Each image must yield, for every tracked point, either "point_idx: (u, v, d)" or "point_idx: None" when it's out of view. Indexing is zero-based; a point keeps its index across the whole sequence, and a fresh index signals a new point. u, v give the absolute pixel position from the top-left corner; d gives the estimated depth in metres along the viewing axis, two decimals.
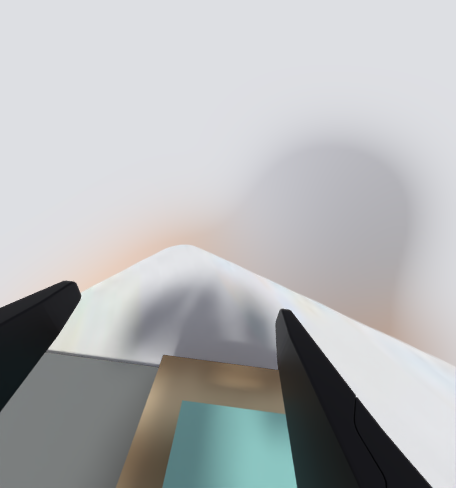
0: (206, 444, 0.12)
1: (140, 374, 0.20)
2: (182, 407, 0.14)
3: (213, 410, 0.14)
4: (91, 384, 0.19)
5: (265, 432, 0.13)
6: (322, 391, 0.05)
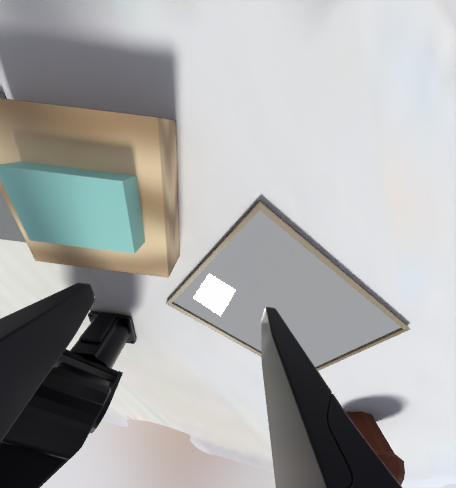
0: (36, 198, 0.14)
1: None
2: None
3: (29, 174, 0.13)
4: None
5: (84, 192, 0.14)
6: (298, 388, 0.05)
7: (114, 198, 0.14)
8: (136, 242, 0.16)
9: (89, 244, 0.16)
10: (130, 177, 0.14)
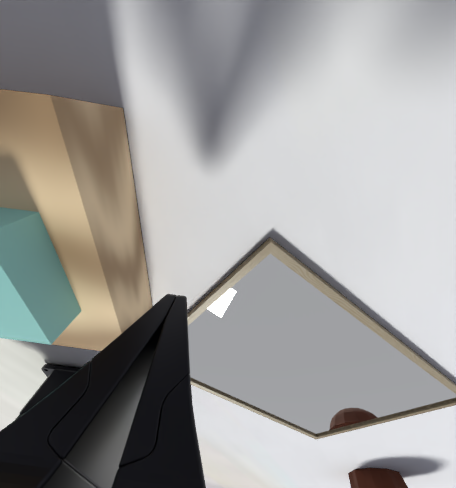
0: None
1: None
2: None
3: None
4: None
5: None
6: (156, 369, 0.05)
7: None
8: (55, 324, 0.09)
9: None
10: (18, 219, 0.07)
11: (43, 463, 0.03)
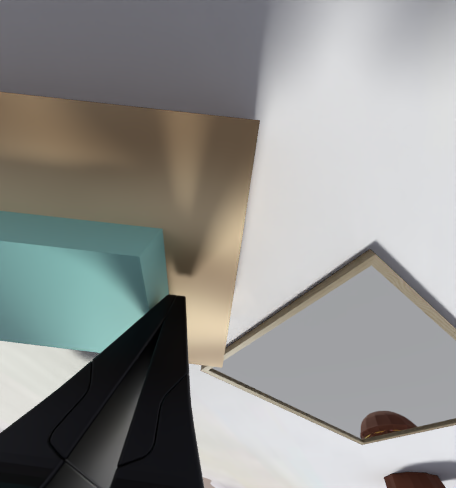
0: None
1: None
2: None
3: None
4: None
5: (60, 273, 0.07)
6: (155, 368, 0.05)
7: (121, 285, 0.07)
8: None
9: (78, 345, 0.09)
10: (152, 237, 0.07)
11: (45, 463, 0.03)
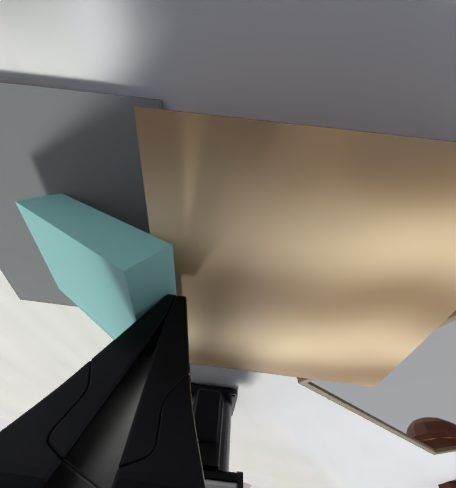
0: (50, 250, 0.10)
1: (120, 118, 0.09)
2: (19, 209, 0.10)
3: (37, 220, 0.09)
4: (44, 142, 0.10)
5: (83, 264, 0.08)
6: (156, 369, 0.05)
7: (116, 291, 0.07)
8: None
9: (101, 325, 0.10)
10: (155, 252, 0.07)
11: (43, 462, 0.03)
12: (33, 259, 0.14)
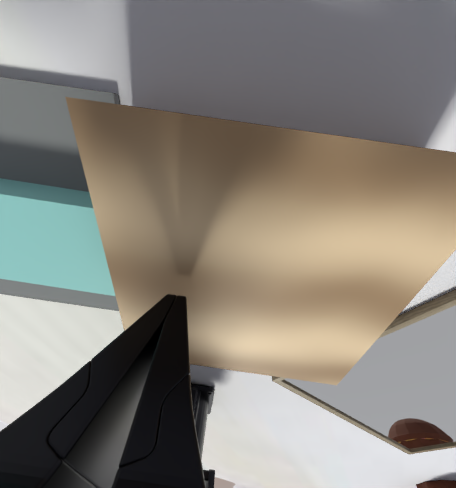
0: None
1: None
2: None
3: None
4: (2, 132, 0.10)
5: (65, 224, 0.10)
6: (156, 369, 0.05)
7: None
8: None
9: (74, 285, 0.12)
10: None
11: (43, 463, 0.03)
12: None
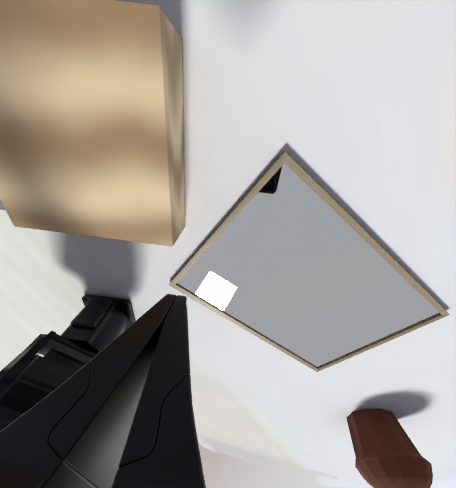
0: None
1: None
2: None
3: None
4: None
5: None
6: (156, 369, 0.05)
7: None
8: None
9: None
10: None
11: (43, 463, 0.03)
12: None
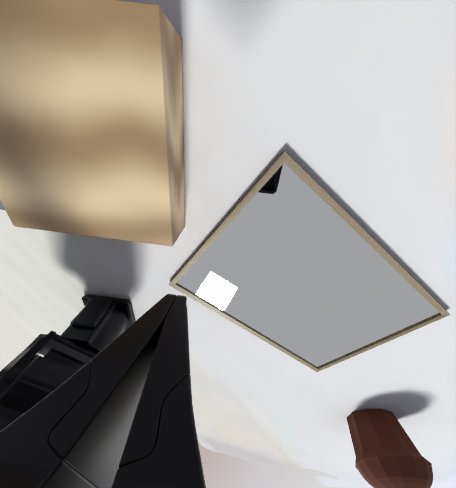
0: None
1: None
2: None
3: None
4: None
5: None
6: (156, 369, 0.05)
7: None
8: None
9: None
10: None
11: (43, 462, 0.03)
12: None
